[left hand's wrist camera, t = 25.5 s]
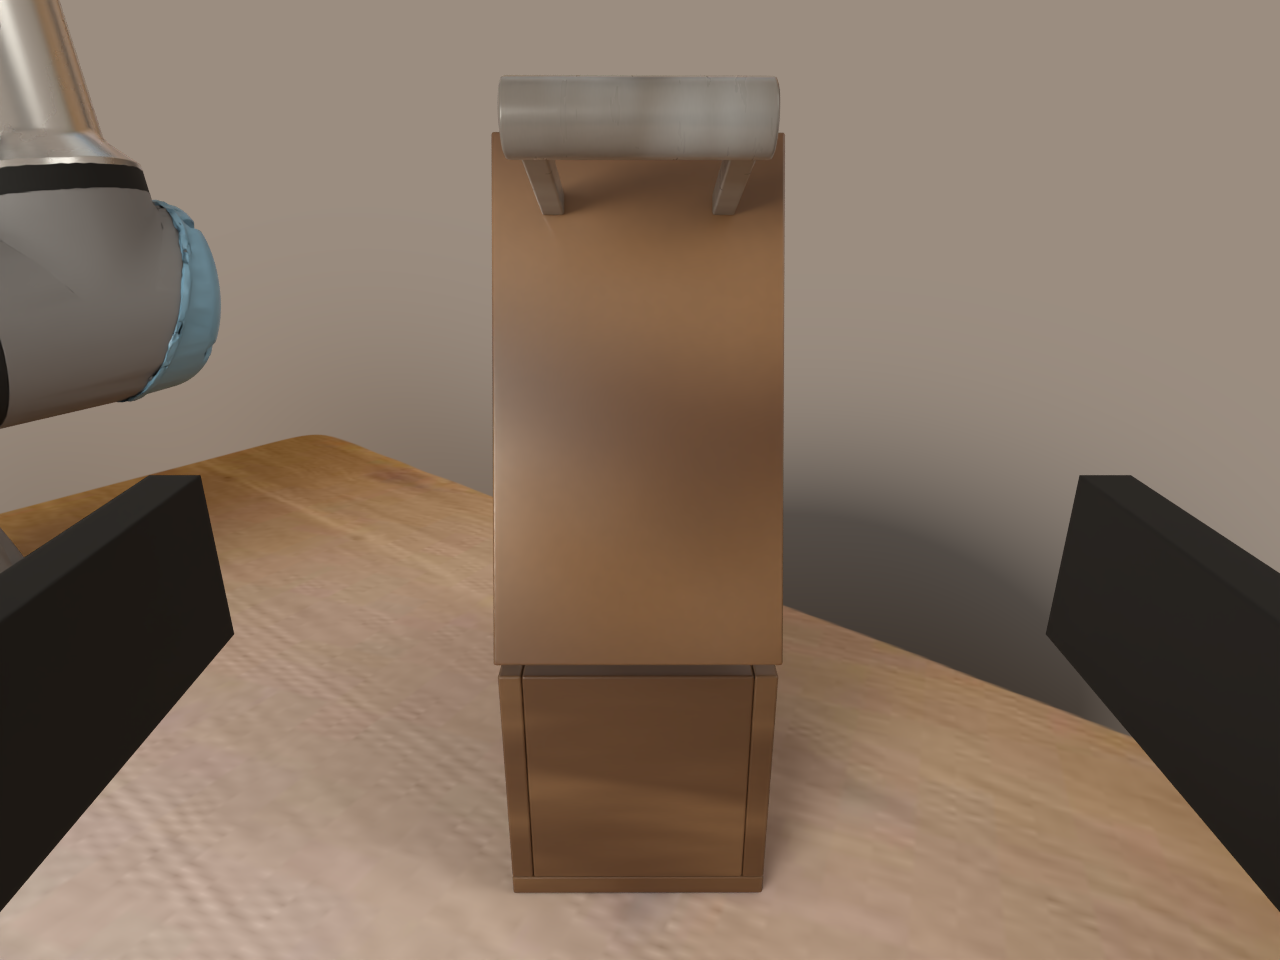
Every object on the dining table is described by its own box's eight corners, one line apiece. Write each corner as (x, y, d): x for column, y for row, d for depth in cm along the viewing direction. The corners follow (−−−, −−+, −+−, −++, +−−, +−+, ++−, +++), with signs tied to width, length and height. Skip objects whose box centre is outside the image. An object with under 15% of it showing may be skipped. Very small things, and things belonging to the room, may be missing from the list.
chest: (554, 648, 45) (547, 489, 42) (720, 648, 45) (727, 489, 42) (513, 893, 30) (497, 676, 27) (762, 893, 30) (778, 676, 27)
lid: (497, 144, 27) (432, -2, 18) (779, 145, 27) (845, -1, 18) (499, 657, 27) (436, 746, 19) (777, 657, 27) (840, 746, 19)
